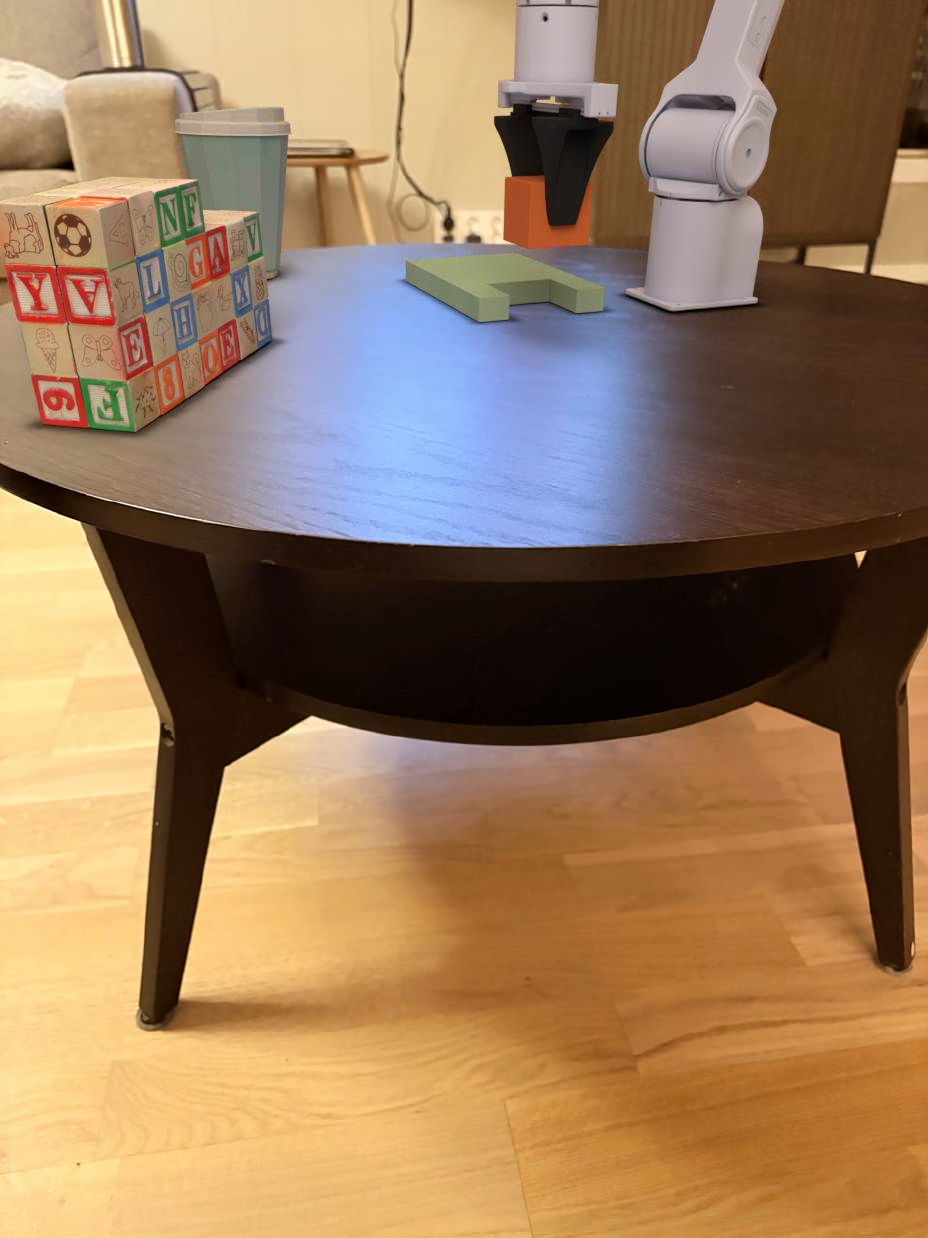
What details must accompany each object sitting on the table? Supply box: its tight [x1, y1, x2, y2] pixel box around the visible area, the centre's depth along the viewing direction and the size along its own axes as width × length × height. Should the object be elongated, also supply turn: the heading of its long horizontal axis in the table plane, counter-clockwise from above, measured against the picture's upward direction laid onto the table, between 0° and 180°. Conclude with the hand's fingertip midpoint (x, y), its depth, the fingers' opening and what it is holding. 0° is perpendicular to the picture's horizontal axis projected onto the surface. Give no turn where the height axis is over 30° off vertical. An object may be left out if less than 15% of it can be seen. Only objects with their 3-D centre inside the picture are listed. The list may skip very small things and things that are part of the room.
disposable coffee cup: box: [174, 106, 292, 280], centre depth 90 cm, size 11×11×15 cm
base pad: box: [405, 252, 606, 323], centre depth 86 cm, size 12×18×2 cm, turn 23°
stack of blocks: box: [0, 176, 273, 433], centre depth 60 cm, size 21×6×12 cm, turn 168°
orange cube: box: [502, 176, 594, 250], centre depth 71 cm, size 5×4×4 cm
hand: (546, 219), depth 71 cm, fingers closed on orange cube, 4 cm apart
